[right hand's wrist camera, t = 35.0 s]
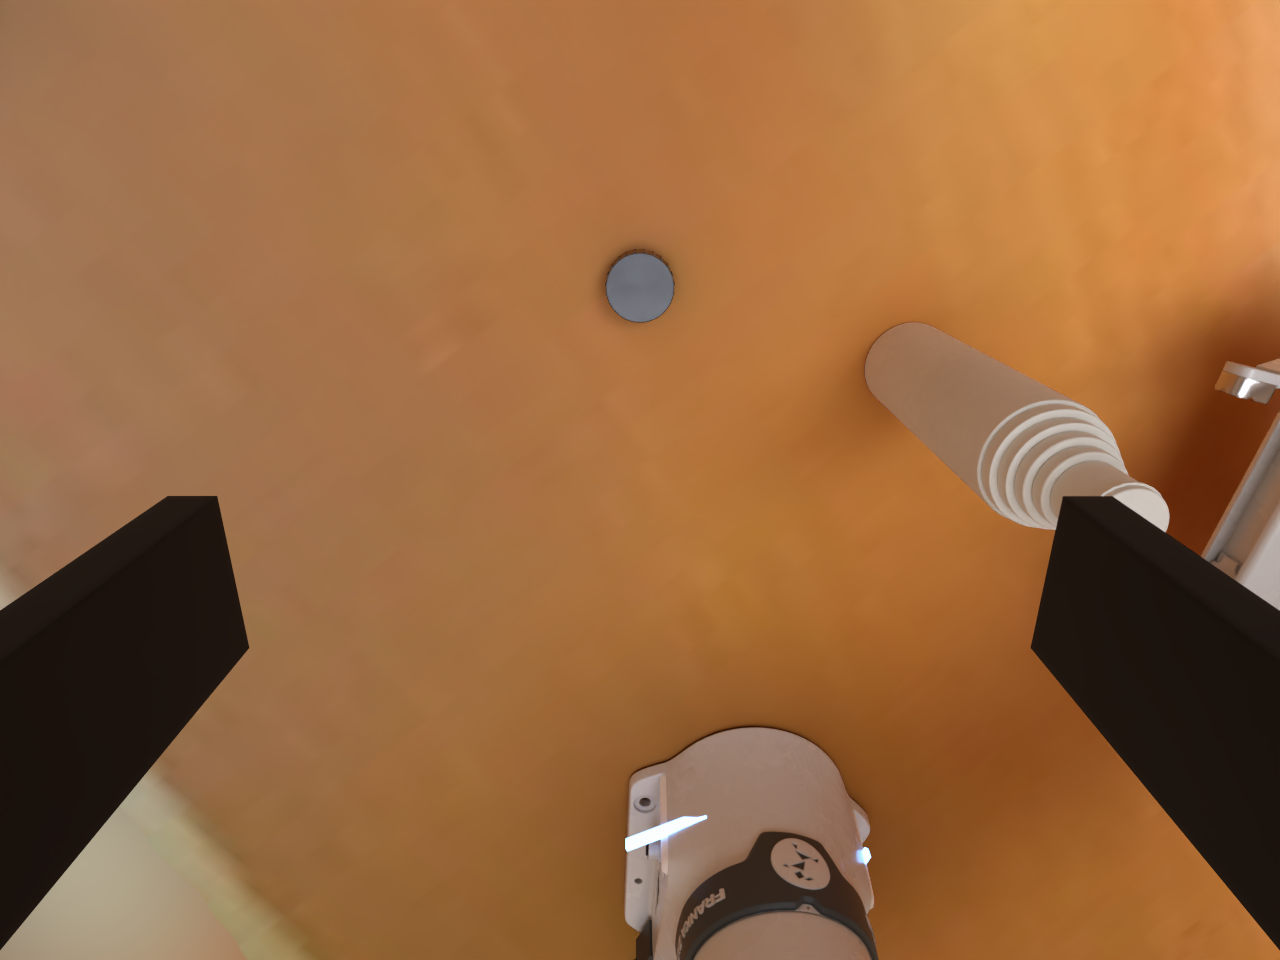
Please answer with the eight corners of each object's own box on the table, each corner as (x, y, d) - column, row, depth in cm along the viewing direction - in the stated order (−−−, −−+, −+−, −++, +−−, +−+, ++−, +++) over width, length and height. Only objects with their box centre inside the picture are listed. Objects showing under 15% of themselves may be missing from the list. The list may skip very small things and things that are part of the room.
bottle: (846, 372, 48) (1015, 536, 26) (909, 303, 47) (1144, 417, 25) (907, 425, 49) (1117, 622, 28) (970, 359, 48) (1246, 514, 26)
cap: (638, 331, 47) (638, 337, 45) (592, 282, 46) (590, 286, 44) (687, 284, 46) (689, 290, 44) (641, 233, 45) (641, 236, 43)
